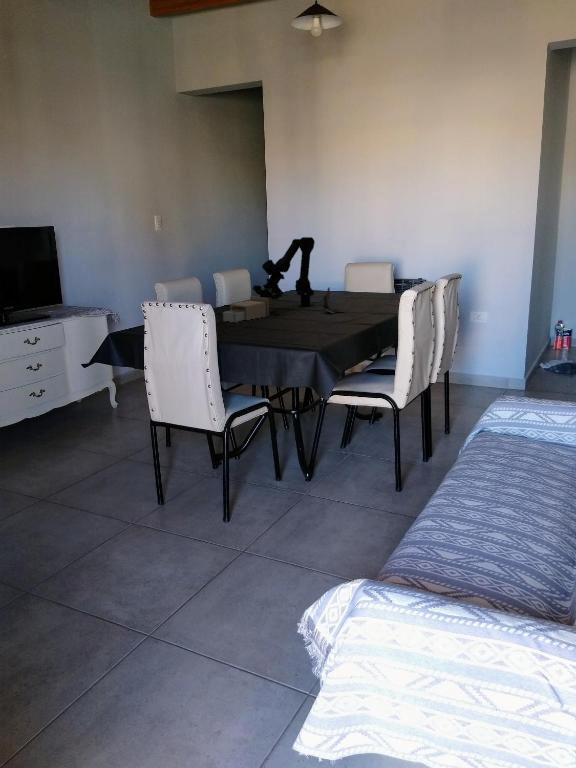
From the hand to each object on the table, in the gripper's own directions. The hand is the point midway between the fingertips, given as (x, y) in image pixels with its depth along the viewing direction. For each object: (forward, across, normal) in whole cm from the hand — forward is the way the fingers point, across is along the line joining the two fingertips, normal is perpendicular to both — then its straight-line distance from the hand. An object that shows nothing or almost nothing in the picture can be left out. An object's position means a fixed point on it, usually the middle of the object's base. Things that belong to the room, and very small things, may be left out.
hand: (260, 303), depth 343 cm
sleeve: (+11, 0, +2) cm, 12 cm away
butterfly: (-14, -29, -24) cm, 40 cm away
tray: (+13, 0, +4) cm, 14 cm away
